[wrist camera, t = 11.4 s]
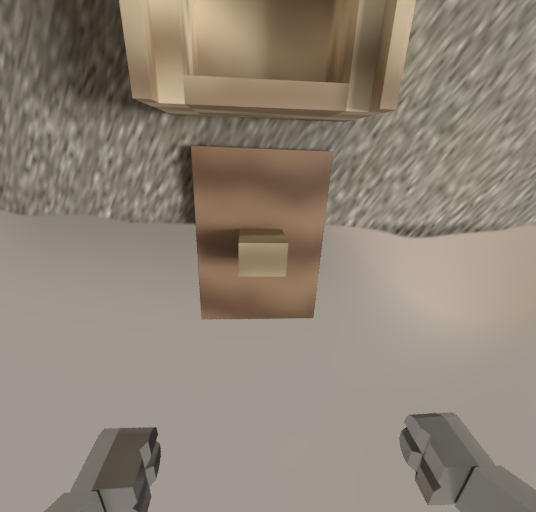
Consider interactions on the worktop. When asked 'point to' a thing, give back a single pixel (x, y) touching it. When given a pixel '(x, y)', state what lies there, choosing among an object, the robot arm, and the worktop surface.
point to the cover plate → (258, 206)
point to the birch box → (267, 56)
